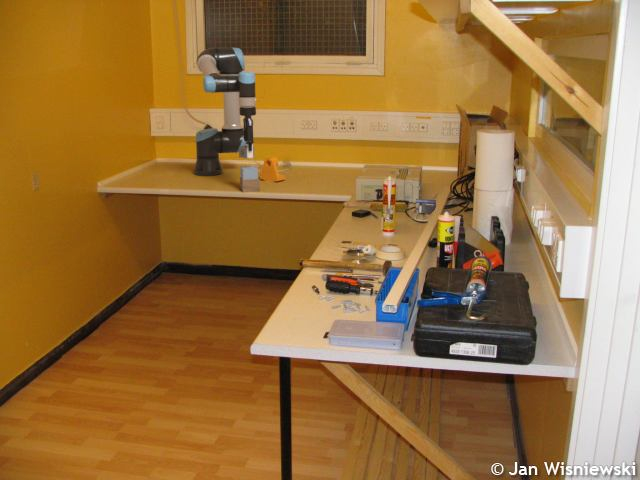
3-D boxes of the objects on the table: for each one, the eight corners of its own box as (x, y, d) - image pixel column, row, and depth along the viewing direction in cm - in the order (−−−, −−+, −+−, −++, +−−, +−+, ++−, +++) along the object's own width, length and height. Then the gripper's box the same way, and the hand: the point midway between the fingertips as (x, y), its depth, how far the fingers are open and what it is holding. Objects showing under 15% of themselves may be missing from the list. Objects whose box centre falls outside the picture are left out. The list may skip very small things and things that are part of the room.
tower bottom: (240, 189, 324) (239, 176, 322) (256, 188, 326) (256, 175, 324) (243, 192, 317) (242, 179, 315) (259, 191, 319) (259, 179, 317)
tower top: (240, 176, 322) (240, 166, 321) (255, 176, 324) (255, 165, 322) (243, 179, 315) (242, 169, 314) (257, 179, 317) (257, 168, 316)
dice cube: (246, 158, 313) (246, 147, 311) (239, 157, 316) (238, 146, 315) (254, 157, 316) (254, 146, 315) (247, 155, 320) (246, 145, 318)
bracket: (285, 180, 344) (285, 157, 340) (277, 182, 338) (276, 159, 334) (268, 178, 349) (268, 155, 346) (260, 180, 343) (259, 157, 340)
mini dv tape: (415, 213, 278) (415, 199, 277) (415, 212, 280) (415, 198, 278) (435, 214, 277) (435, 200, 275) (435, 214, 278) (436, 199, 276)
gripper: (259, 108, 302) (260, 159, 309) (252, 104, 320) (253, 153, 327) (242, 108, 300) (244, 160, 307) (236, 104, 318) (238, 153, 325)
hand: (249, 156), depth 317 cm, fingers closed on dice cube, 6 cm apart
